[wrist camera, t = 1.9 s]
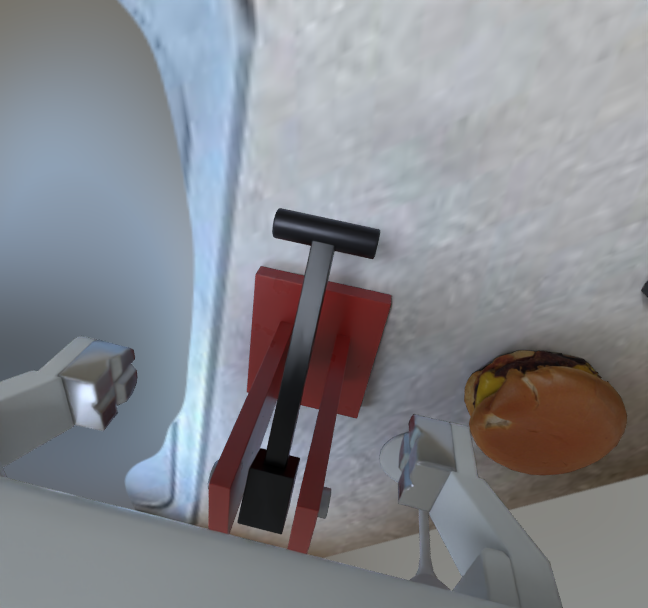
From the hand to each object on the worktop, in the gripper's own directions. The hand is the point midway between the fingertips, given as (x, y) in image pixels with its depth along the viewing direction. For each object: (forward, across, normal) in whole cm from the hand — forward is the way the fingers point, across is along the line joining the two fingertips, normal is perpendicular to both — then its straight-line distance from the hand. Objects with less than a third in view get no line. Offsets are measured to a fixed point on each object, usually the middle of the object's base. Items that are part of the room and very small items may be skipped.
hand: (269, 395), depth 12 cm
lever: (+8, 0, +6) cm, 10 cm away
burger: (+16, -16, +10) cm, 25 cm away
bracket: (+16, 0, +10) cm, 19 cm away
